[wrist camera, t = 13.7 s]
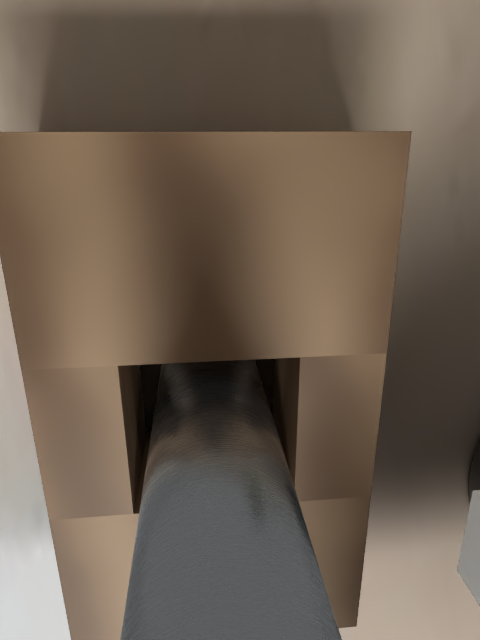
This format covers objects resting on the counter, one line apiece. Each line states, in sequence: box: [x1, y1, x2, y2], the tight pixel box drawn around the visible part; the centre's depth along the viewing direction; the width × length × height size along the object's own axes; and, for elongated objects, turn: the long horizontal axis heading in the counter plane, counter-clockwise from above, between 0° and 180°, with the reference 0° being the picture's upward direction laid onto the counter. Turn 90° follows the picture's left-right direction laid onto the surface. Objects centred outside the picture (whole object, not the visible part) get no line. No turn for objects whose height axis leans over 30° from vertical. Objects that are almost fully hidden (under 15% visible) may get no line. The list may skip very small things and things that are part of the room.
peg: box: [120, 359, 342, 640], centre depth 14 cm, size 4×4×14 cm
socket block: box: [0, 131, 412, 640], centre depth 18 cm, size 12×20×5 cm, turn 0°
